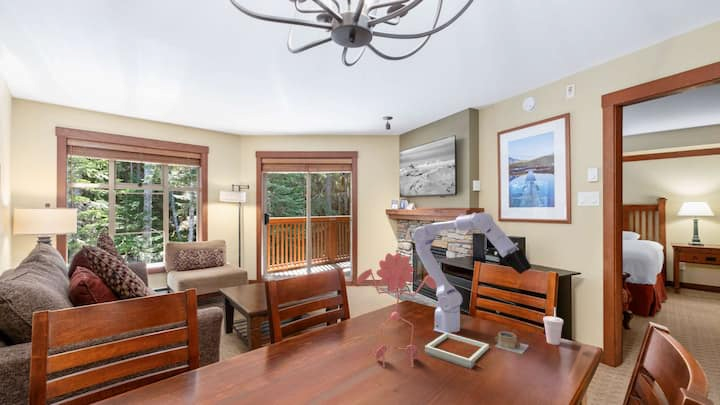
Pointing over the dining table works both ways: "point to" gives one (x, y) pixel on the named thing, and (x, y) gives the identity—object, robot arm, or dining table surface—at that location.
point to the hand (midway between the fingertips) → (526, 270)
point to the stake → (517, 350)
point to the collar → (507, 340)
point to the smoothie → (553, 328)
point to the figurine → (395, 276)
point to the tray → (453, 357)
